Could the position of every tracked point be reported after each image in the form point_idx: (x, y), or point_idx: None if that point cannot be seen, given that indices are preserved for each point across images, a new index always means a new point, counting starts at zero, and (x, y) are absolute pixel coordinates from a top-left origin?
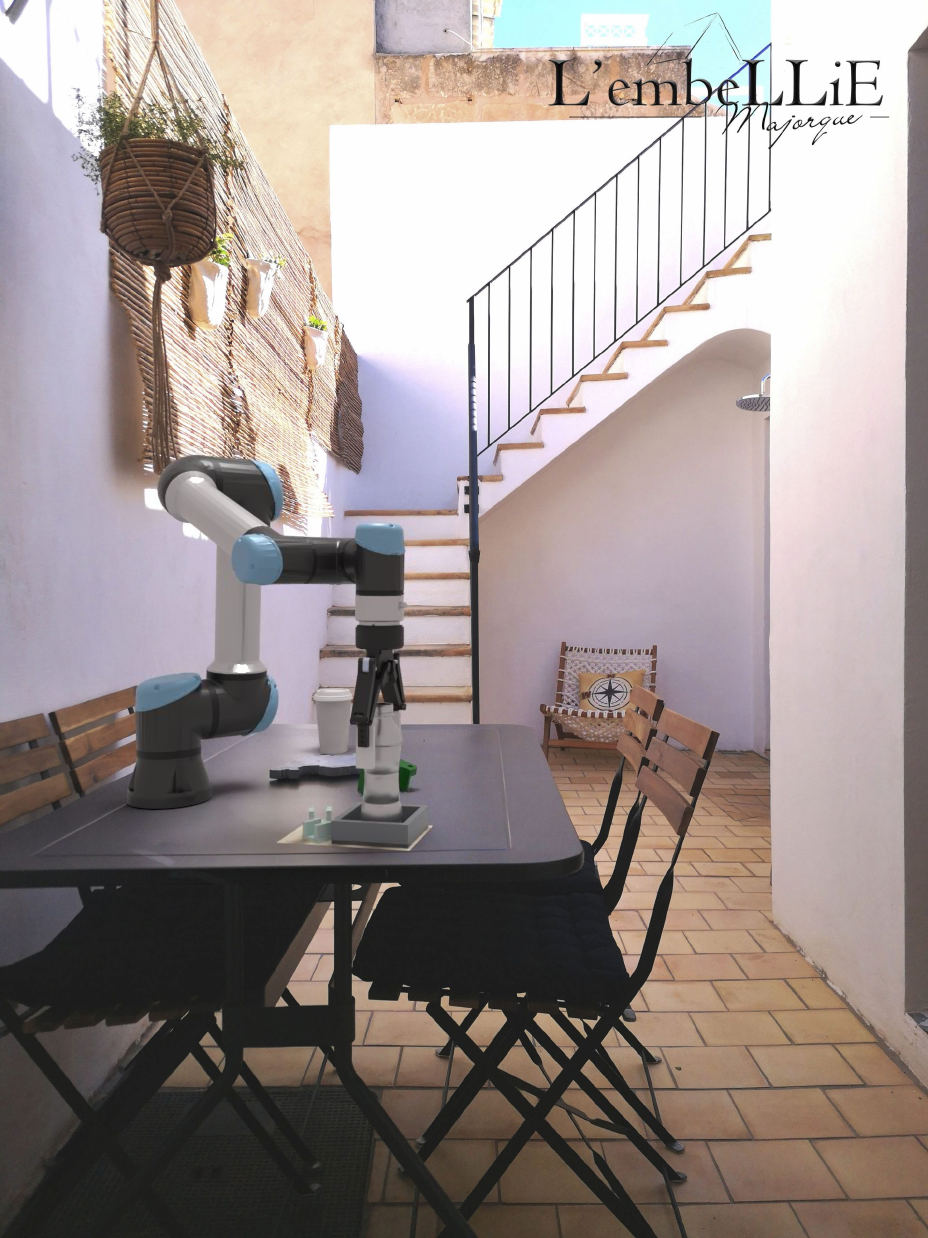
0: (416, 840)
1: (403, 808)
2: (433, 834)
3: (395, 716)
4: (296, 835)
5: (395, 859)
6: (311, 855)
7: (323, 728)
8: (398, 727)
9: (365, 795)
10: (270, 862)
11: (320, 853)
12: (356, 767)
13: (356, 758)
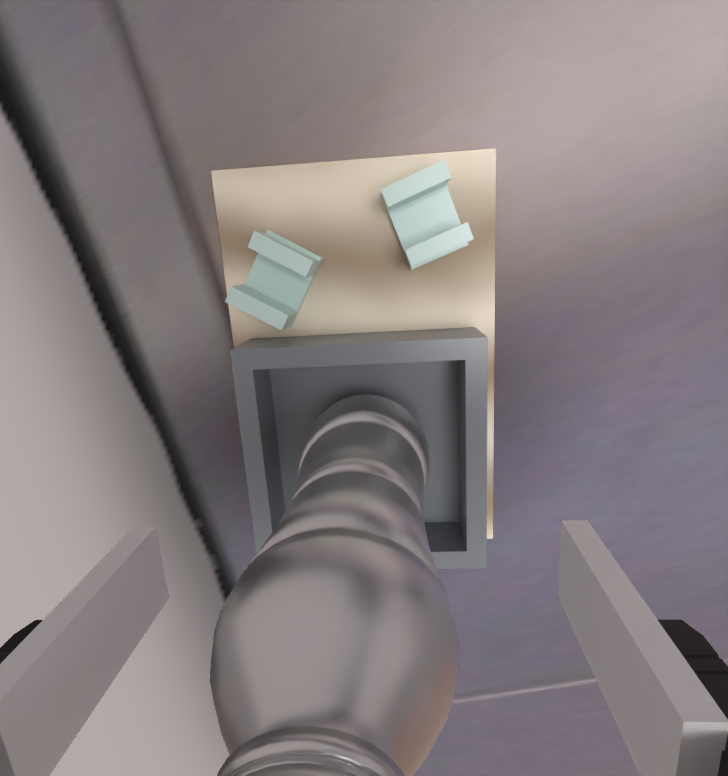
0: None
1: (465, 496)
2: None
3: (651, 762)
4: (296, 196)
5: (242, 508)
6: (203, 300)
7: None
8: (612, 702)
9: (312, 452)
10: (112, 219)
11: (226, 316)
12: (132, 531)
13: (106, 556)
